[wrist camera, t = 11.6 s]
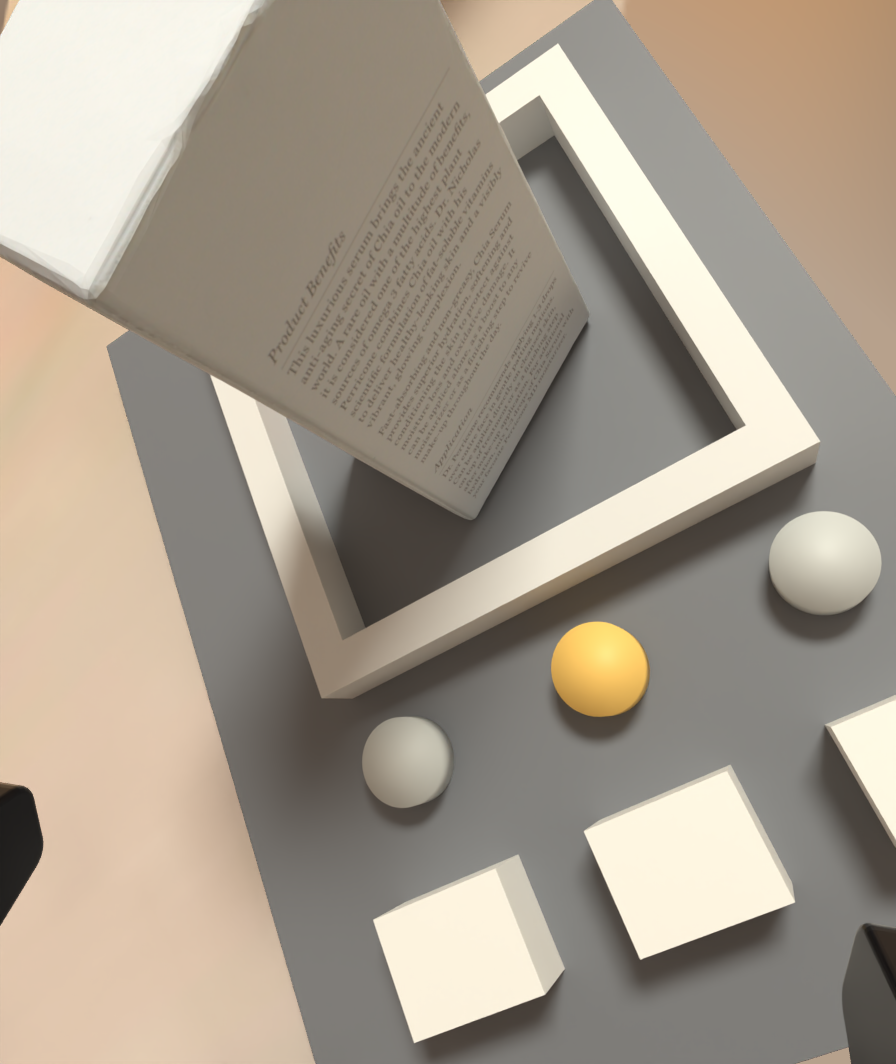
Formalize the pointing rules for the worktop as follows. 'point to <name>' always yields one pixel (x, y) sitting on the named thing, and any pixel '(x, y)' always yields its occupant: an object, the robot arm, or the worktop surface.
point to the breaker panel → (568, 638)
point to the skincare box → (294, 216)
